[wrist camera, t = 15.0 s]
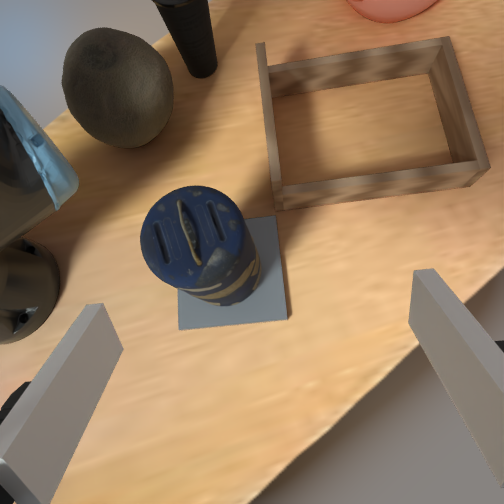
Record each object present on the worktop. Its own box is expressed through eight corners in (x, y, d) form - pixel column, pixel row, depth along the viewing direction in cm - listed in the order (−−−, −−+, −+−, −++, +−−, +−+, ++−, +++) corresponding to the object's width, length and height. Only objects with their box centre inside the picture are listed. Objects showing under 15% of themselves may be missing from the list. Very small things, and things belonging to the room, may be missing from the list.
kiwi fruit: (141, 184, 51) (82, 121, 37) (85, 133, 55) (11, 58, 41) (206, 120, 53) (173, 36, 39) (147, 75, 57) (97, -16, 42)
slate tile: (181, 330, 45) (178, 330, 44) (178, 230, 49) (175, 227, 48) (287, 319, 43) (287, 319, 42) (275, 218, 47) (275, 215, 46)
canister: (258, 233, 46) (237, 165, 29) (267, 303, 43) (249, 275, 26) (189, 243, 47) (129, 182, 29) (193, 312, 44) (129, 291, 27)
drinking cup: (213, 91, 54) (169, -48, 35) (172, 78, 56) (109, -62, 37) (234, 54, 56) (202, -99, 37) (193, 42, 57) (143, -110, 38)
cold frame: (275, 211, 48) (271, 181, 39) (261, 92, 53) (255, 43, 44) (469, 186, 45) (511, 149, 37) (434, 65, 51) (463, 8, 42)
